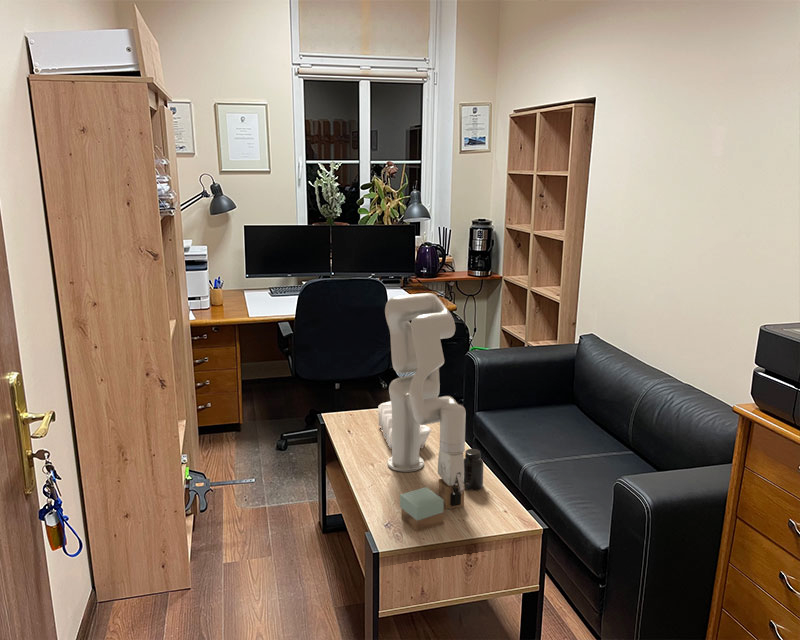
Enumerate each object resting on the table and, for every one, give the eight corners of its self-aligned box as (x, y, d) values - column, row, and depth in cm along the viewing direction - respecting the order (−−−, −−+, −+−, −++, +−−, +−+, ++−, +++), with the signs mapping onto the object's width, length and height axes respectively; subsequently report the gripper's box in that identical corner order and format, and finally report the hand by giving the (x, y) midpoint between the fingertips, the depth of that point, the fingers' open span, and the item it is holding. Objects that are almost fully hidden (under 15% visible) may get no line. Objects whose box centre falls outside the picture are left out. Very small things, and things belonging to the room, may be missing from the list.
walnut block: (438, 500, 202) (438, 479, 200) (455, 497, 204) (456, 476, 202) (445, 509, 196) (446, 487, 195) (463, 506, 198) (464, 484, 196)
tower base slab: (401, 518, 191) (401, 506, 190) (427, 511, 196) (427, 498, 195) (417, 532, 184) (417, 520, 183) (444, 524, 188) (444, 512, 187)
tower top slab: (400, 507, 190) (400, 494, 189) (425, 499, 194) (425, 486, 194) (417, 520, 182) (417, 507, 181) (443, 512, 187) (443, 499, 186)
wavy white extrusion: (376, 420, 267) (376, 396, 264) (415, 418, 269) (415, 394, 267) (388, 456, 233) (388, 428, 231) (433, 453, 235) (433, 426, 233)
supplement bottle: (469, 479, 215) (470, 445, 213) (486, 485, 211) (488, 450, 209) (457, 486, 210) (458, 452, 208) (475, 493, 206) (476, 457, 203)
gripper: (429, 436, 202) (429, 489, 206) (452, 458, 186) (451, 515, 190) (452, 433, 205) (450, 485, 209) (476, 454, 189) (474, 511, 193)
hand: (451, 499), depth 200 cm, fingers closed on walnut block, 6 cm apart
